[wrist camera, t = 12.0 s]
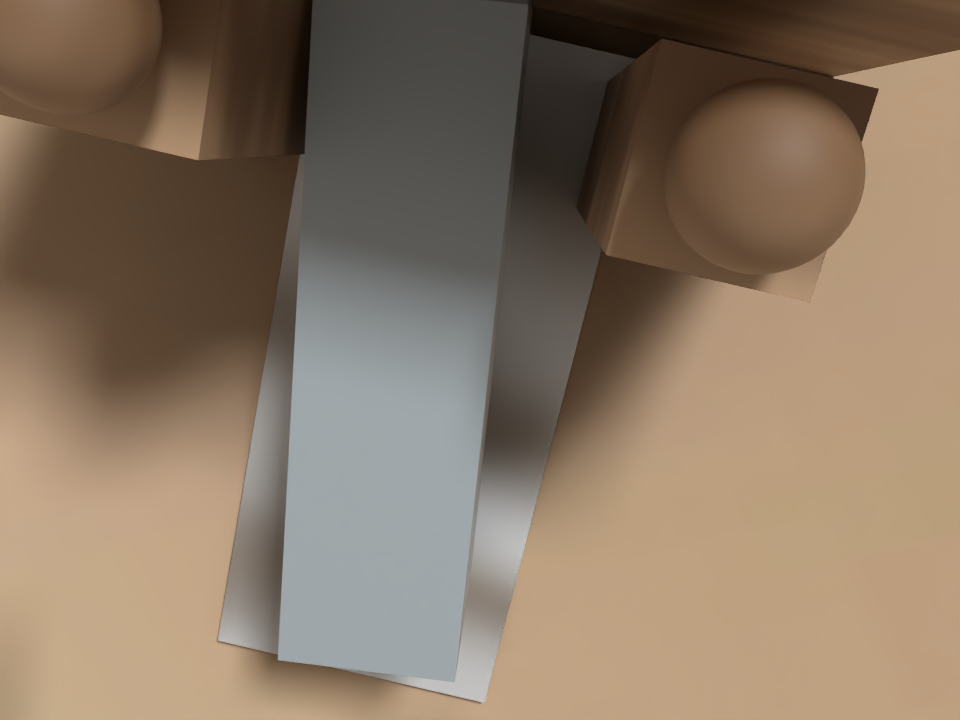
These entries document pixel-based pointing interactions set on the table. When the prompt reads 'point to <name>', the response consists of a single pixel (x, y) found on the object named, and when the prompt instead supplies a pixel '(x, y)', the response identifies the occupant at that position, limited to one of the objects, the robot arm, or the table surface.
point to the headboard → (535, 199)
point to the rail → (397, 324)
